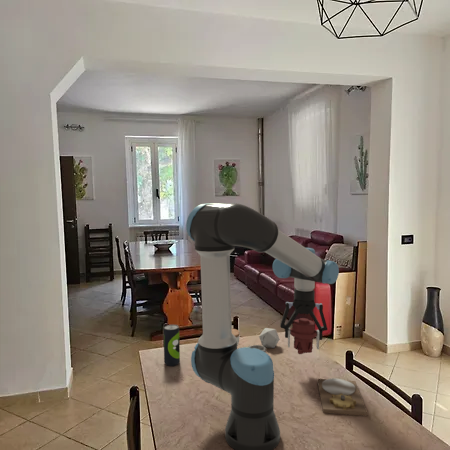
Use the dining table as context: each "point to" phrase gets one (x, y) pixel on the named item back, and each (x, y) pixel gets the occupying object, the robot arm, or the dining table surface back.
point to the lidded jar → (236, 334)
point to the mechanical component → (303, 335)
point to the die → (269, 338)
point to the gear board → (341, 397)
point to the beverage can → (171, 345)
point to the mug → (258, 347)
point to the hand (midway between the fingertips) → (303, 347)
